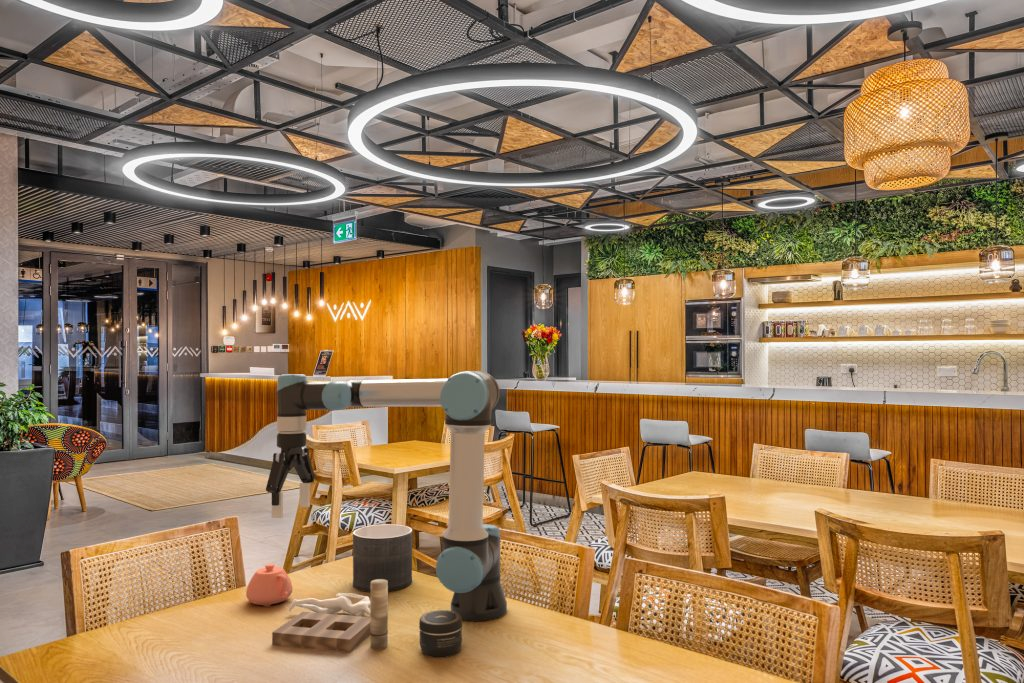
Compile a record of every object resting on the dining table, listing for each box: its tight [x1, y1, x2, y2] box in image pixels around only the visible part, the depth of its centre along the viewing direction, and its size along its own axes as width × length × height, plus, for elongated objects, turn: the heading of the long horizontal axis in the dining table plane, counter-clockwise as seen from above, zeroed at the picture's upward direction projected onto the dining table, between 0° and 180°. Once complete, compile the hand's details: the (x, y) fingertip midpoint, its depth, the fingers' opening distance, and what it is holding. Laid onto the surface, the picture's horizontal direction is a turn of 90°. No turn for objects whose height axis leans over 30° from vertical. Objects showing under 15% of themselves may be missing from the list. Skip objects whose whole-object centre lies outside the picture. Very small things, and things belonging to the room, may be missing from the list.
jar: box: [418, 609, 463, 659], centre depth 162 cm, size 10×10×8 cm
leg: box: [369, 579, 389, 650], centre depth 164 cm, size 4×4×15 cm
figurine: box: [288, 592, 371, 617], centre depth 184 cm, size 8×6×25 cm
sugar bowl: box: [245, 563, 293, 607], centre depth 195 cm, size 12×14×10 cm
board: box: [271, 611, 370, 653], centre depth 169 cm, size 20×14×3 cm
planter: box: [352, 523, 413, 593], centre depth 211 cm, size 18×18×16 cm
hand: (291, 512), depth 184 cm, fingers open, 13 cm apart
